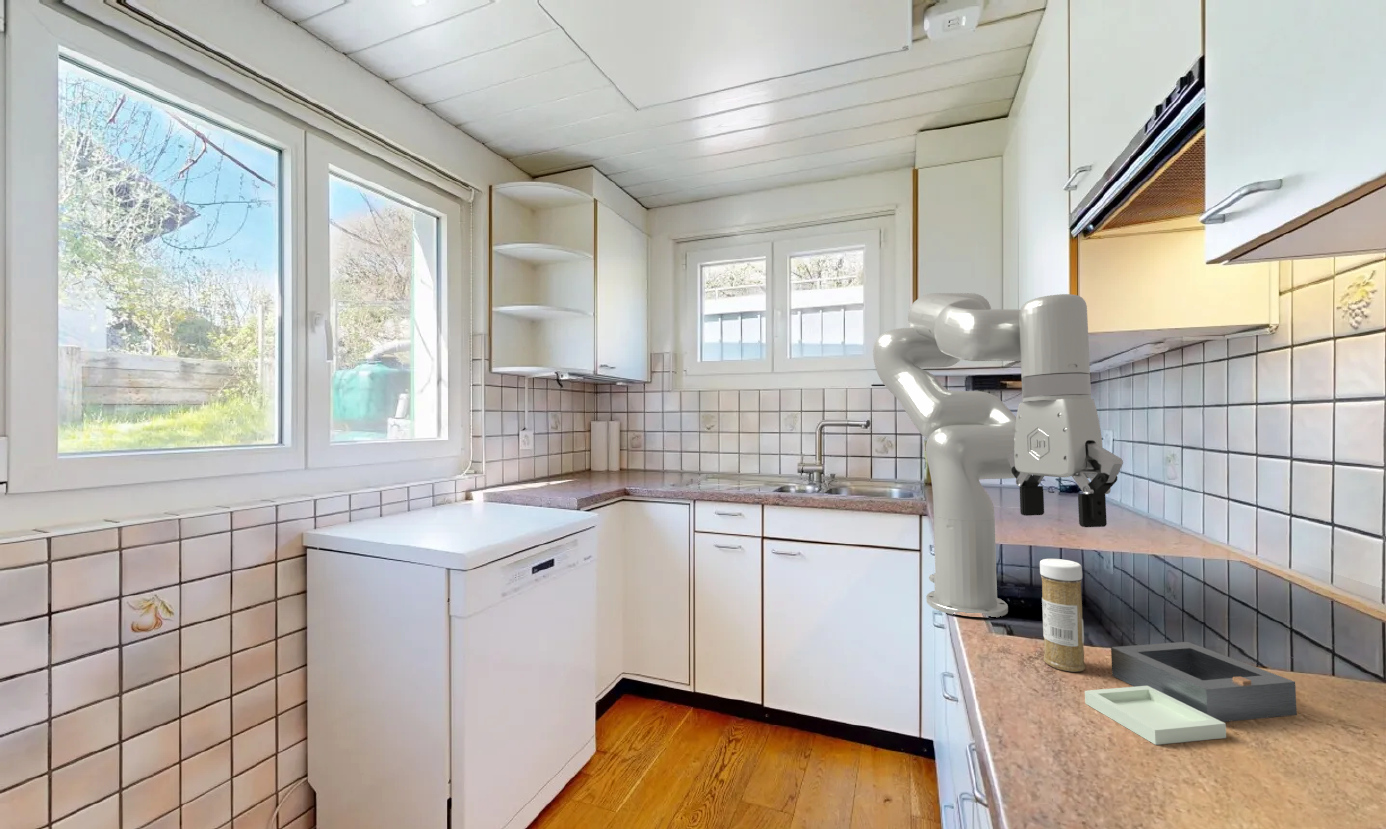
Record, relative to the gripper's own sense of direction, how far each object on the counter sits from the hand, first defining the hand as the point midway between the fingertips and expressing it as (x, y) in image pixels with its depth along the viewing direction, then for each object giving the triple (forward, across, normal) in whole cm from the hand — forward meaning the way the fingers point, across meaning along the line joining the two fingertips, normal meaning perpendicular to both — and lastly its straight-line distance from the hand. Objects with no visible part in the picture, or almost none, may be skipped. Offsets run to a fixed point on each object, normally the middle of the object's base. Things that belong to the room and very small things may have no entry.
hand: (1060, 520), depth 70 cm
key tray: (+19, +12, -2) cm, 23 cm away
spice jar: (+19, 0, 0) cm, 19 cm away
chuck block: (+19, +8, +9) cm, 23 cm away
